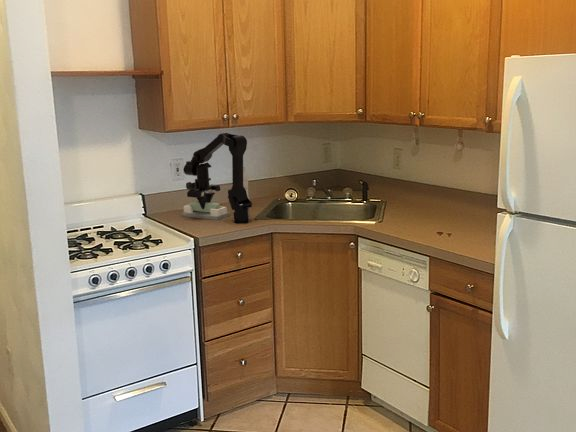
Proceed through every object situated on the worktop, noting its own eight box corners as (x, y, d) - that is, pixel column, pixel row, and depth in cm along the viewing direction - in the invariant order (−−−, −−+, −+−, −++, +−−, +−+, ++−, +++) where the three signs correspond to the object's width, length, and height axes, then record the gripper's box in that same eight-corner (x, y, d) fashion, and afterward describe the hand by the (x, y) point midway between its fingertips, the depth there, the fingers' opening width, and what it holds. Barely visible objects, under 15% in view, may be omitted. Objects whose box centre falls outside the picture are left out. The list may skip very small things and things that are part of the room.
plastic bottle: (242, 208, 333) (239, 169, 328) (234, 206, 338) (232, 167, 334) (252, 206, 337) (250, 167, 332) (245, 204, 342) (243, 166, 337)
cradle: (229, 215, 319) (229, 206, 318) (217, 220, 311) (216, 210, 310) (194, 211, 331) (194, 202, 330) (181, 215, 322) (180, 206, 321)
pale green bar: (220, 211, 317) (219, 203, 316) (216, 213, 315) (215, 204, 314) (194, 208, 326) (193, 200, 325) (190, 210, 323) (189, 202, 322)
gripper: (202, 172, 328) (204, 203, 332) (177, 178, 313) (179, 210, 316) (219, 173, 322) (221, 204, 326) (195, 180, 307) (197, 212, 311)
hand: (205, 208), depth 320 cm, fingers closed on pale green bar, 3 cm apart
